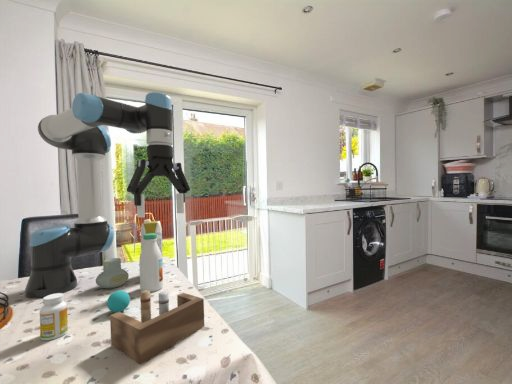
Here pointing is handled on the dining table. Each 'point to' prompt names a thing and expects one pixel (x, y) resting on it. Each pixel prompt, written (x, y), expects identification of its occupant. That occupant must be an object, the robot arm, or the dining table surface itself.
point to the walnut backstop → (156, 329)
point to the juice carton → (152, 228)
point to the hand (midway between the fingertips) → (162, 215)
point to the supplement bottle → (53, 317)
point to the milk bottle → (151, 264)
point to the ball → (118, 301)
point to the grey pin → (163, 302)
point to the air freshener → (112, 274)
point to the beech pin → (145, 306)
